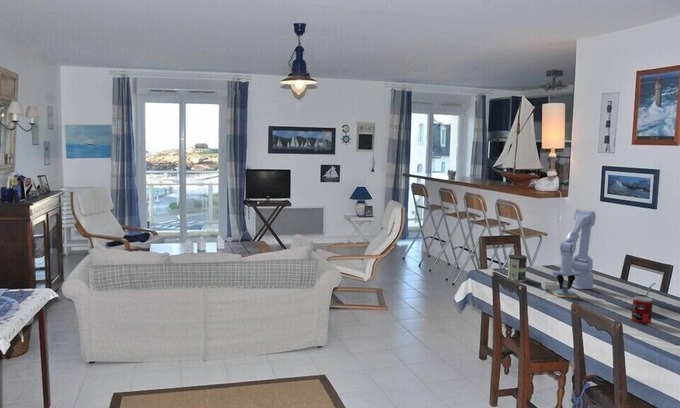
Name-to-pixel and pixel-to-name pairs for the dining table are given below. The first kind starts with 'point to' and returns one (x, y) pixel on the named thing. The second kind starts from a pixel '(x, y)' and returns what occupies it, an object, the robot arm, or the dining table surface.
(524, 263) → the coffee can
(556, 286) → the box
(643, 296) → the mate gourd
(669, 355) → the dining table surface
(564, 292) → the lid
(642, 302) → the canned food
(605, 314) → the dining table surface
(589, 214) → the robot arm
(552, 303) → the dining table surface
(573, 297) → the mat
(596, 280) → the dining table surface
